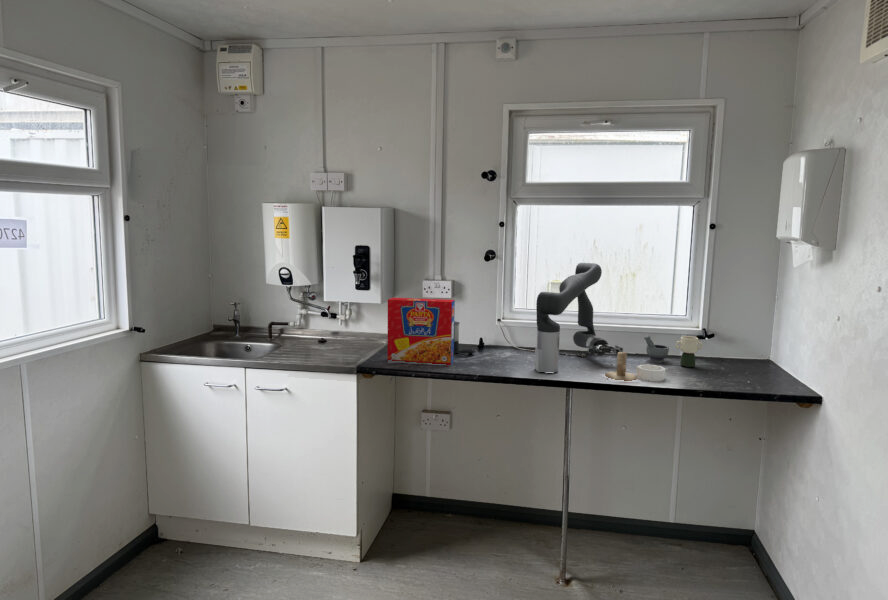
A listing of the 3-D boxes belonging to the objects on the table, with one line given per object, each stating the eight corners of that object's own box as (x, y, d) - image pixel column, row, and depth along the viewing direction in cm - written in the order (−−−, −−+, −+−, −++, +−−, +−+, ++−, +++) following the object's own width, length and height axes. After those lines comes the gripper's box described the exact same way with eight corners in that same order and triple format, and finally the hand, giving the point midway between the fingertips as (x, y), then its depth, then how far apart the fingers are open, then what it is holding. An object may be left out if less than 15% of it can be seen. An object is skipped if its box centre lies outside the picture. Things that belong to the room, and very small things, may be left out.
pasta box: (387, 363, 246) (387, 299, 242) (392, 359, 254) (392, 297, 250) (450, 366, 241) (451, 302, 238) (453, 362, 249) (454, 299, 245)
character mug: (698, 365, 250) (700, 336, 248) (703, 369, 243) (705, 339, 241) (672, 364, 252) (674, 335, 250) (676, 367, 245) (678, 338, 243)
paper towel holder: (612, 381, 220) (613, 356, 218) (600, 373, 231) (602, 349, 230) (641, 381, 221) (643, 356, 219) (628, 373, 232) (630, 349, 231)
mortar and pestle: (664, 359, 260) (666, 334, 259) (671, 364, 251) (672, 337, 250) (640, 358, 262) (641, 333, 260) (645, 363, 252) (646, 337, 251)
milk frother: (438, 351, 271) (438, 320, 269) (470, 350, 274) (470, 320, 272) (443, 357, 257) (444, 325, 256) (477, 356, 260) (477, 325, 258)
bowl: (644, 381, 221) (644, 370, 220) (633, 375, 231) (633, 364, 230) (668, 381, 222) (669, 370, 221) (656, 375, 232) (657, 364, 231)
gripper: (582, 337, 251) (595, 345, 235) (612, 337, 252) (628, 344, 236) (581, 353, 252) (594, 362, 236) (612, 353, 253) (627, 362, 237)
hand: (611, 353), depth 236 cm, fingers open, 8 cm apart
